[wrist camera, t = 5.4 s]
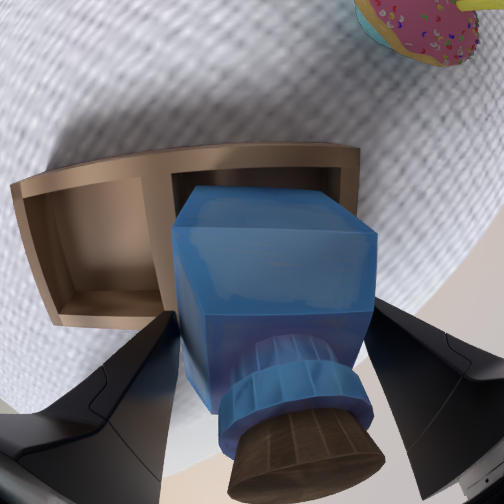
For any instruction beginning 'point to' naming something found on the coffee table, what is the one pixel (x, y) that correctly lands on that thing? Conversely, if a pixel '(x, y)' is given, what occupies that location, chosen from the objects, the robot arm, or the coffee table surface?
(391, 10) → the cupcake
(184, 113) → the coffee table surface
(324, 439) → the perfume bottle
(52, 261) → the wooden divided tray
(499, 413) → the robot arm
